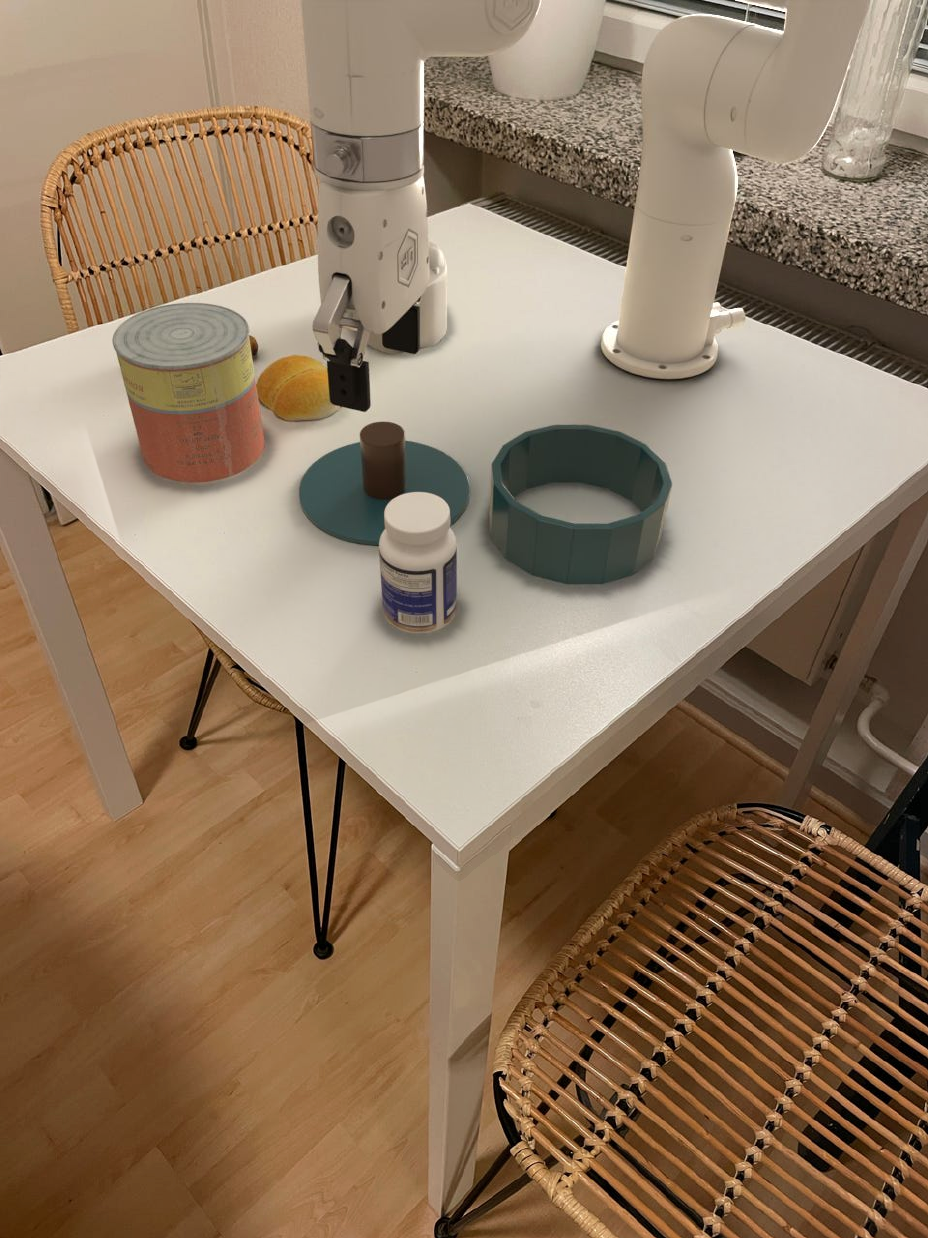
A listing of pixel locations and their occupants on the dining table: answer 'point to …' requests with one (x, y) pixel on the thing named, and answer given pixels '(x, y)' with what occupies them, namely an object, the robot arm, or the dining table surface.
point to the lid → (377, 482)
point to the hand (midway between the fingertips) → (376, 376)
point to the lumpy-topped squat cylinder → (426, 306)
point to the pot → (567, 545)
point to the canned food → (191, 390)
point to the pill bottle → (418, 563)
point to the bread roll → (296, 389)
